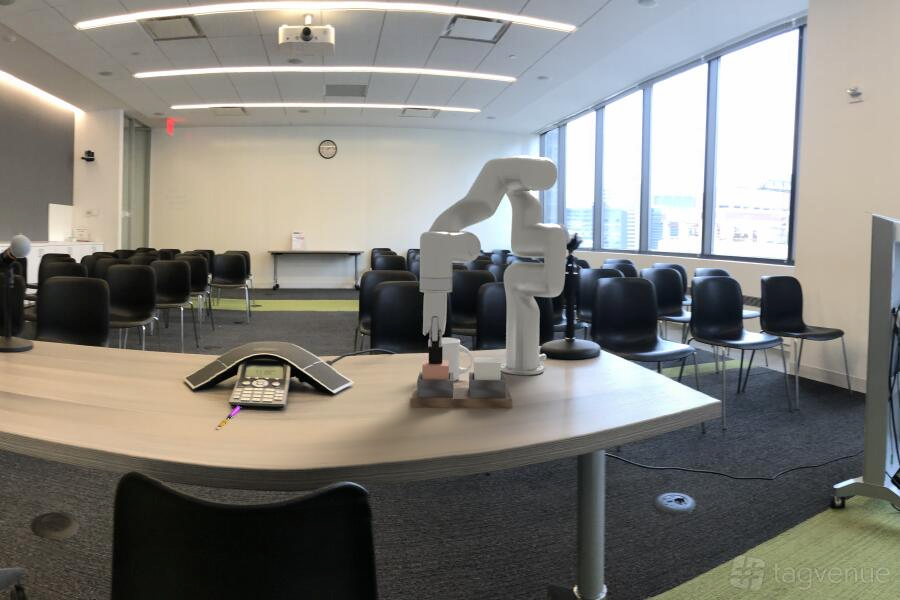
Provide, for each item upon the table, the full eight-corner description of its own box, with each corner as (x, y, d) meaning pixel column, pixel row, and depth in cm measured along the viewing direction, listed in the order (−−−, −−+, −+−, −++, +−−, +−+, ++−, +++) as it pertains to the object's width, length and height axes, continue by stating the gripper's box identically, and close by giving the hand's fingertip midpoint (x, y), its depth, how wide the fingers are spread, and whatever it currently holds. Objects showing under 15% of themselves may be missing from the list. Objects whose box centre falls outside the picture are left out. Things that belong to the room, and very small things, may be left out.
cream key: (498, 381, 137) (499, 357, 136) (500, 388, 131) (500, 362, 130) (473, 381, 137) (474, 357, 136) (474, 388, 131) (474, 362, 130)
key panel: (508, 395, 139) (508, 371, 139) (511, 407, 129) (512, 382, 129) (414, 395, 140) (414, 371, 139) (410, 406, 130) (410, 381, 129)
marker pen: (238, 407, 130) (214, 431, 114) (239, 402, 129) (215, 425, 114) (250, 409, 130) (228, 434, 114) (251, 404, 130) (229, 428, 114)
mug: (470, 383, 151) (470, 343, 150) (425, 381, 153) (425, 342, 152) (473, 376, 160) (474, 338, 159) (431, 374, 161) (431, 337, 160)
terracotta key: (448, 384, 137) (448, 360, 137) (448, 391, 131) (448, 366, 131) (423, 384, 137) (423, 360, 137) (422, 391, 131) (422, 365, 131)
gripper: (421, 282, 139) (421, 356, 141) (417, 287, 124) (417, 370, 126) (452, 283, 139) (451, 357, 141) (451, 288, 124) (451, 370, 126)
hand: (435, 363), depth 134 cm, fingers closed
